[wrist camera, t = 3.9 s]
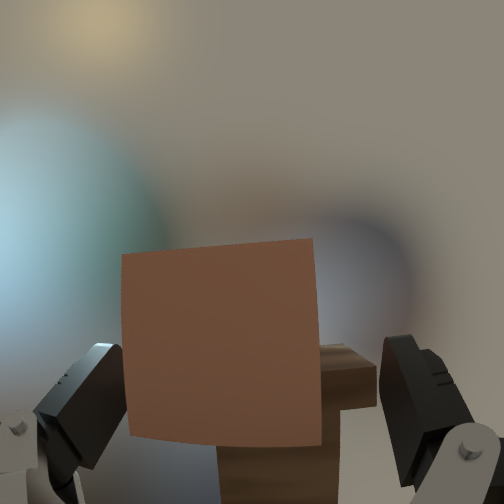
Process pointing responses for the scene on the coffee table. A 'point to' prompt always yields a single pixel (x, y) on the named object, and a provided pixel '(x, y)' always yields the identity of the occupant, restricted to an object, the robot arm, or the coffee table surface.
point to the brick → (223, 345)
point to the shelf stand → (305, 457)
